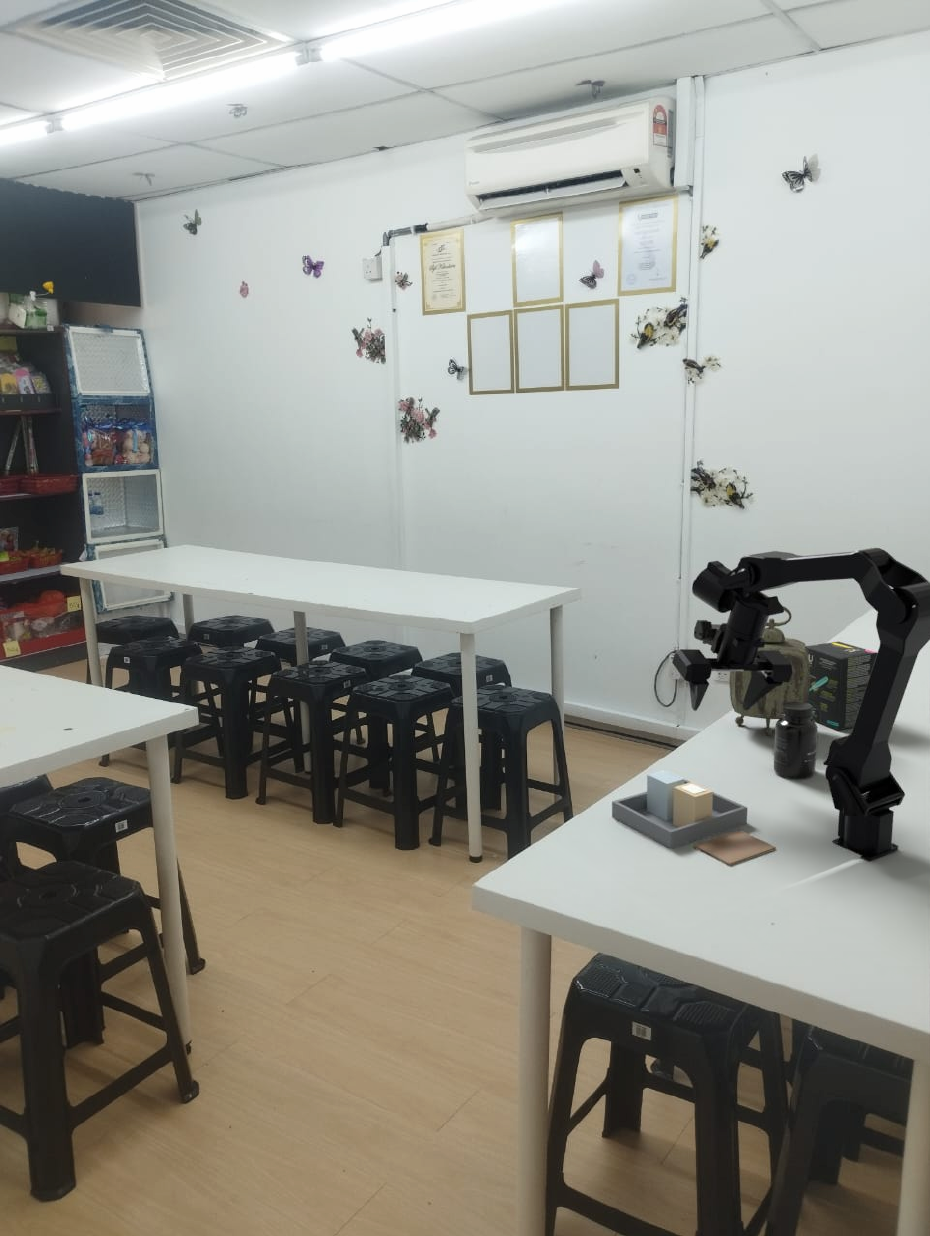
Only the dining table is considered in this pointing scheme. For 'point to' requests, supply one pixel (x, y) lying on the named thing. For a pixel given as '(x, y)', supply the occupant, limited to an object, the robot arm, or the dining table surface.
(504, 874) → the dining table surface
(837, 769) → the robot arm
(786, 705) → the supplement bottle
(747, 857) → the board
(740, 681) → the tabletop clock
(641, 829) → the bin
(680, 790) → the carton tan
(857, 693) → the tampon box
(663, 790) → the carton blue
